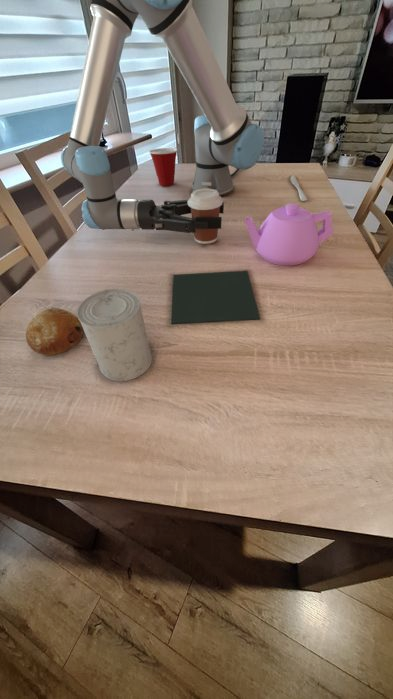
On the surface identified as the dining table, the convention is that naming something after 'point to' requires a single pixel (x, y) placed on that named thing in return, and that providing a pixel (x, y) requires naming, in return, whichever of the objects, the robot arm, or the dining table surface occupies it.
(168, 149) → the plastic cup
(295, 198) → the dining table surface
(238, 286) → the mat
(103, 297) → the grey tin can
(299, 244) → the teapot
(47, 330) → the bread roll
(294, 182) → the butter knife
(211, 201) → the coffee cup
